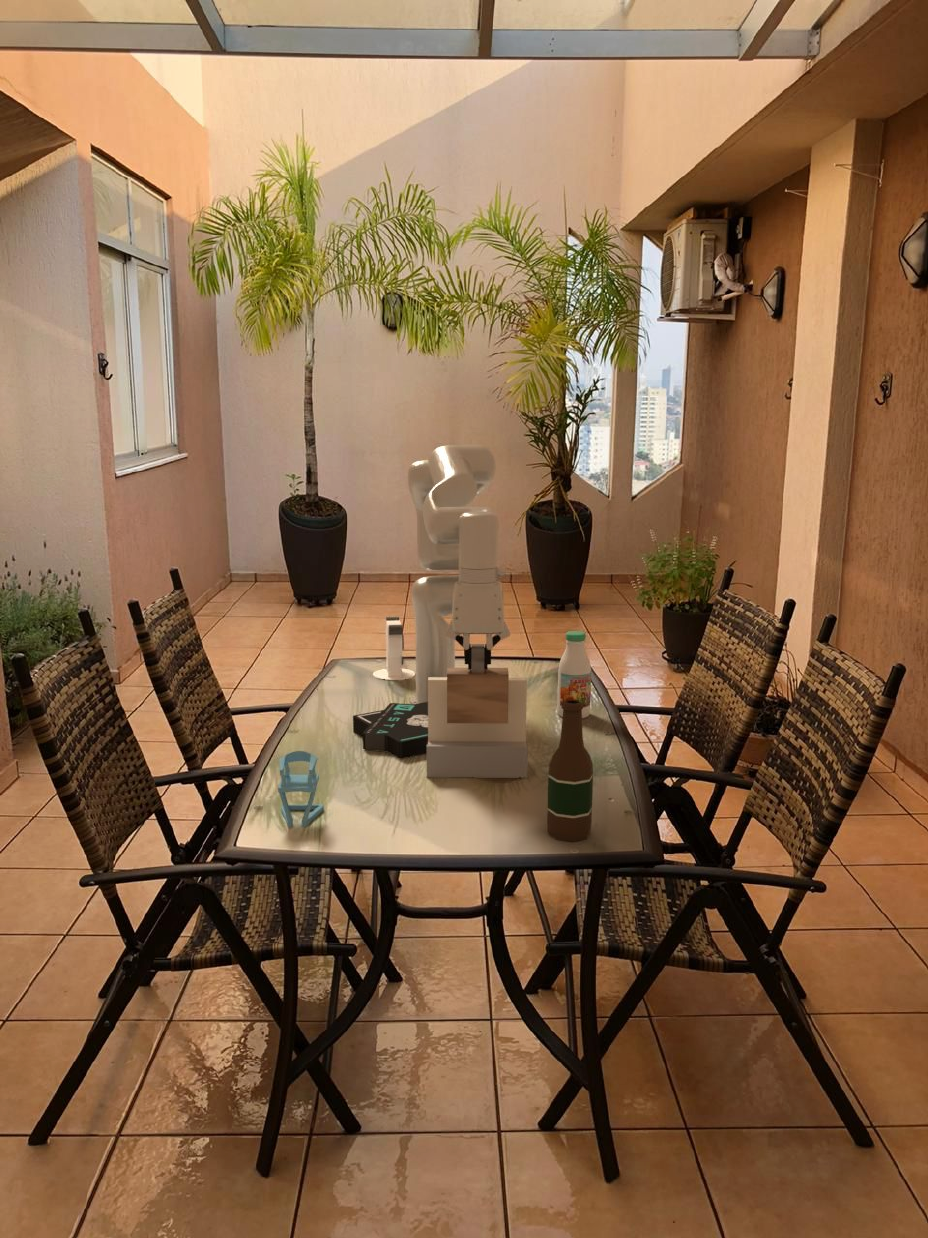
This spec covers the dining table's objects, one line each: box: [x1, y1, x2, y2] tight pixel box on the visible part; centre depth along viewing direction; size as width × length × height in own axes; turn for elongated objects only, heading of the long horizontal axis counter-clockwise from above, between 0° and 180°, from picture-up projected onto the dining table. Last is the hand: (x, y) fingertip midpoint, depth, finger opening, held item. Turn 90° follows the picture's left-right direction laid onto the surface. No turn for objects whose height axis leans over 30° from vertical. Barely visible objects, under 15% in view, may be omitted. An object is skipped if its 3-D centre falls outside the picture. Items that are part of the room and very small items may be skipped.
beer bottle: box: [546, 699, 594, 843], centre depth 183 cm, size 8×8×24 cm
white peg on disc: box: [372, 616, 416, 681], centre depth 284 cm, size 12×11×15 cm
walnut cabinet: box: [447, 643, 510, 724], centre depth 210 cm, size 5×12×15 cm, turn 90°
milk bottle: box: [556, 630, 592, 719], centre depth 250 cm, size 8×8×20 cm
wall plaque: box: [352, 702, 428, 760], centre depth 236 cm, size 30×4×30 cm
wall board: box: [426, 677, 529, 779], centre depth 214 cm, size 10×20×18 cm, turn 89°
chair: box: [277, 750, 324, 828], centre depth 190 cm, size 8×8×12 cm
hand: (477, 667), depth 210 cm, fingers closed on walnut cabinet, 2 cm apart
